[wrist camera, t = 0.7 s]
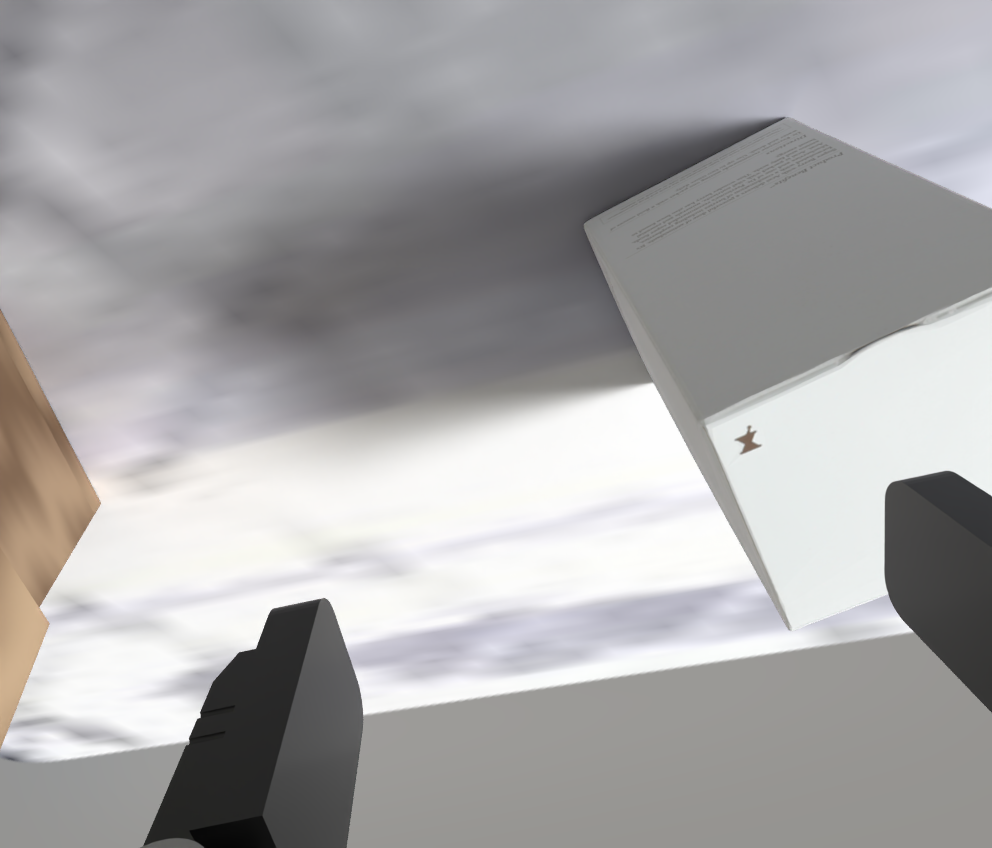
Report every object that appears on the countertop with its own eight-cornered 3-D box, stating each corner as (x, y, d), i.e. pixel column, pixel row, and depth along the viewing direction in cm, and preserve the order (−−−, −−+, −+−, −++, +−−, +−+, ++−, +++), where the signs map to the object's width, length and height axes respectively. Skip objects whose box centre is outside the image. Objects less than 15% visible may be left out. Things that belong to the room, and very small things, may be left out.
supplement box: (652, 388, 34) (782, 645, 21) (577, 220, 29) (687, 424, 17) (843, 301, 32) (1106, 526, 20) (796, 108, 27) (1100, 242, 15)
